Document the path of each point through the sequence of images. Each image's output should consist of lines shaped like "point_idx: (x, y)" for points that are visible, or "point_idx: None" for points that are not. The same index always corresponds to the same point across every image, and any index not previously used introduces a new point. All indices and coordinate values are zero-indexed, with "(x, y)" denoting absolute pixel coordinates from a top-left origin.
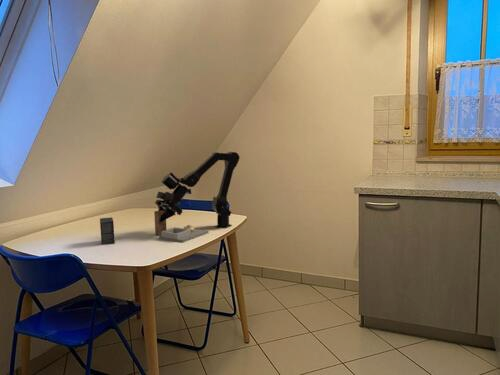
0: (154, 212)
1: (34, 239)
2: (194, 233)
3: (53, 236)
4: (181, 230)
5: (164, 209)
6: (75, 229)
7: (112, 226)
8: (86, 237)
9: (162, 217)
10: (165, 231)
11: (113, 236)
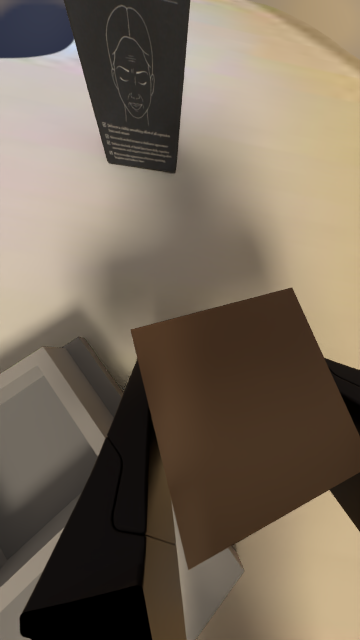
0: (274, 296)
1: (263, 38)
2: (18, 636)
3: (282, 69)
4: (52, 530)
5: None
6: (354, 122)
7: (70, 19)
8: (241, 120)
9: (124, 400)
10: (53, 382)
11: (96, 120)
